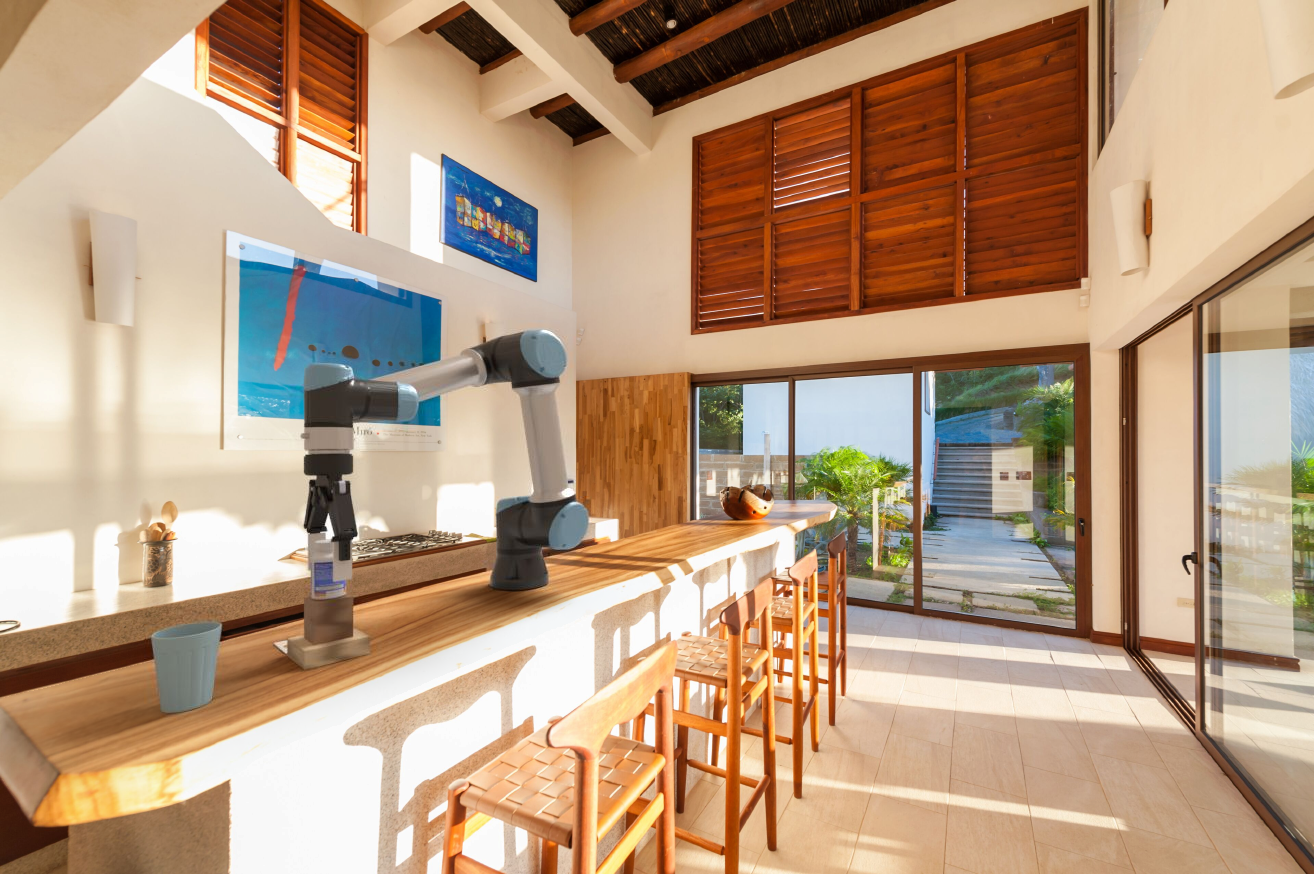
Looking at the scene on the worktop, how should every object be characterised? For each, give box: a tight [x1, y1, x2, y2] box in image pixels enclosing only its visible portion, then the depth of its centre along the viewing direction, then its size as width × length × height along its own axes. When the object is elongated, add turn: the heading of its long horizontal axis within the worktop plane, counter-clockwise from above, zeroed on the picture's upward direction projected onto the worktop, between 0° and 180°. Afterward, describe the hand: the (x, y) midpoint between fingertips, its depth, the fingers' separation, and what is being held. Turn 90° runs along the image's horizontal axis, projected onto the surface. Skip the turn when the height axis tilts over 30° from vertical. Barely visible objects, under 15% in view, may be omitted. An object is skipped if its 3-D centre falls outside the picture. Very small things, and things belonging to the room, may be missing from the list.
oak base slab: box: [286, 626, 371, 671], centre depth 99 cm, size 10×10×3 cm
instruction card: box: [273, 640, 287, 655], centre depth 106 cm, size 10×8×1 cm
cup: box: [150, 621, 223, 714], centre depth 80 cm, size 8×8×10 cm
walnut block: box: [303, 592, 354, 645], centre depth 100 cm, size 6×6×7 cm
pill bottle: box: [310, 538, 347, 600], centre depth 100 cm, size 5×5×10 cm
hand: (329, 574), depth 100 cm, fingers open, 13 cm apart
